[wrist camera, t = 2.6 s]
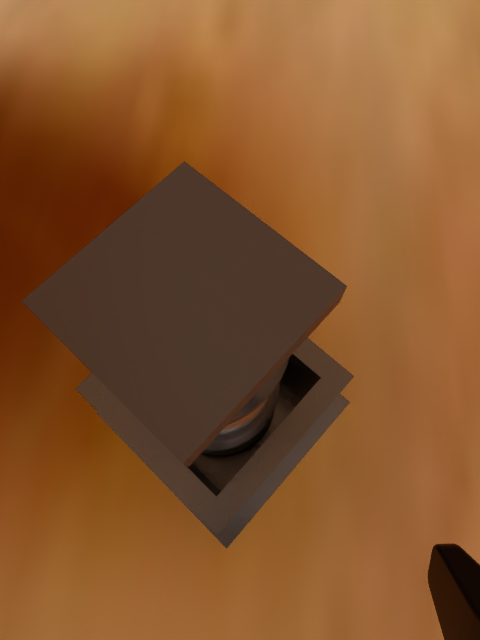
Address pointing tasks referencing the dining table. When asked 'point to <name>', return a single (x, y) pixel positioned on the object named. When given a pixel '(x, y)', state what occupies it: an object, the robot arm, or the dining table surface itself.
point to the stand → (250, 466)
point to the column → (189, 314)
